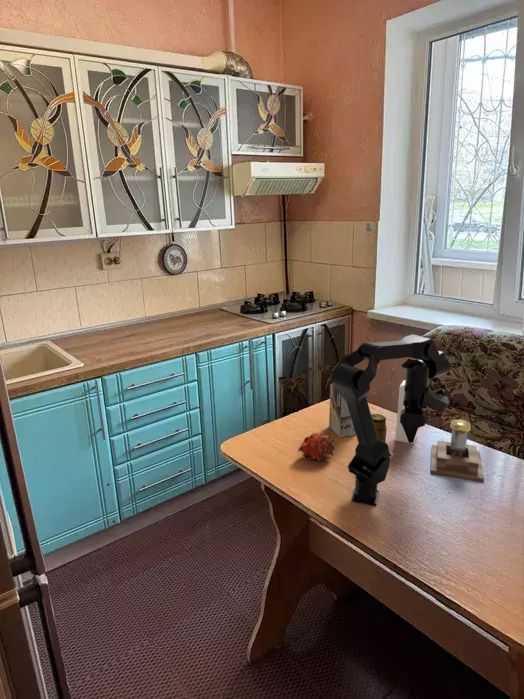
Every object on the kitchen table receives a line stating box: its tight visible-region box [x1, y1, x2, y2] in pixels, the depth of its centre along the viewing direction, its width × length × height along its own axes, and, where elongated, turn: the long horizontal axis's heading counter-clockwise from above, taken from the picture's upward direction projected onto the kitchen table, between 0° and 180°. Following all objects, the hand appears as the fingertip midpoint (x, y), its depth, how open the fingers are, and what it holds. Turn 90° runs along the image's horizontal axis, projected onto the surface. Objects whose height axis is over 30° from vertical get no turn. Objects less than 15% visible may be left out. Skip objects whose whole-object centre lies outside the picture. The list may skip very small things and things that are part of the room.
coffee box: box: [328, 382, 356, 438], centre depth 165 cm, size 9×6×16 cm
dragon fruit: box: [297, 432, 336, 462], centre depth 149 cm, size 8×8×12 cm
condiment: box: [371, 413, 396, 458], centre depth 151 cm, size 7×8×12 cm
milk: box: [395, 379, 418, 445], centre depth 158 cm, size 6×6×22 cm
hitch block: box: [430, 440, 485, 482], centre depth 145 cm, size 16×14×4 cm
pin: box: [449, 419, 472, 457], centre depth 144 cm, size 5×5×12 cm
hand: (411, 435), depth 136 cm, fingers open, 9 cm apart
